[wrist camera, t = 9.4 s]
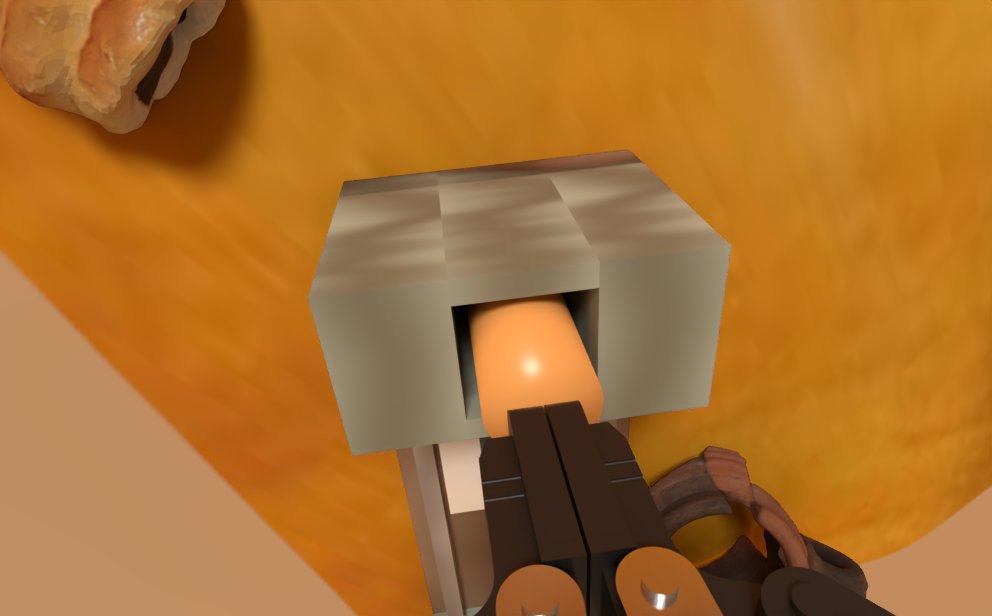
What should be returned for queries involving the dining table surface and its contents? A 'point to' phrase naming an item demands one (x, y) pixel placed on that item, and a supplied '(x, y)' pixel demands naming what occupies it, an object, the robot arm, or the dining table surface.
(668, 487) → the pottery mug
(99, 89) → the pastry
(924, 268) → the dining table surface
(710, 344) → the rail base
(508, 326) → the plunger
